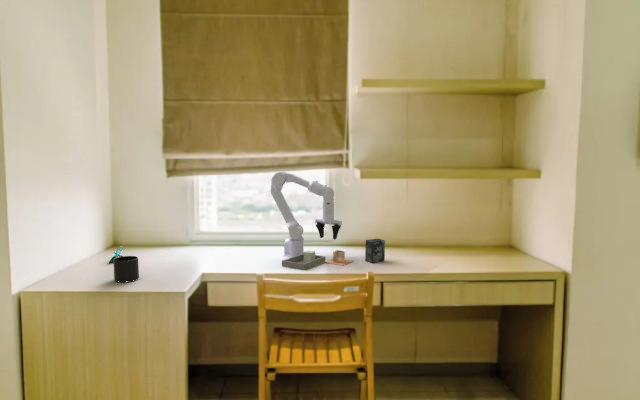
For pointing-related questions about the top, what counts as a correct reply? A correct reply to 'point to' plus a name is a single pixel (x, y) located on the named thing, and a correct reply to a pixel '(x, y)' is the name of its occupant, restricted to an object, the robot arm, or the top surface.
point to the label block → (339, 256)
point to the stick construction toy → (116, 254)
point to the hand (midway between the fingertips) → (328, 238)
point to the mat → (339, 263)
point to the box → (375, 250)
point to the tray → (302, 262)
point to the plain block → (309, 256)
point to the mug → (126, 268)
